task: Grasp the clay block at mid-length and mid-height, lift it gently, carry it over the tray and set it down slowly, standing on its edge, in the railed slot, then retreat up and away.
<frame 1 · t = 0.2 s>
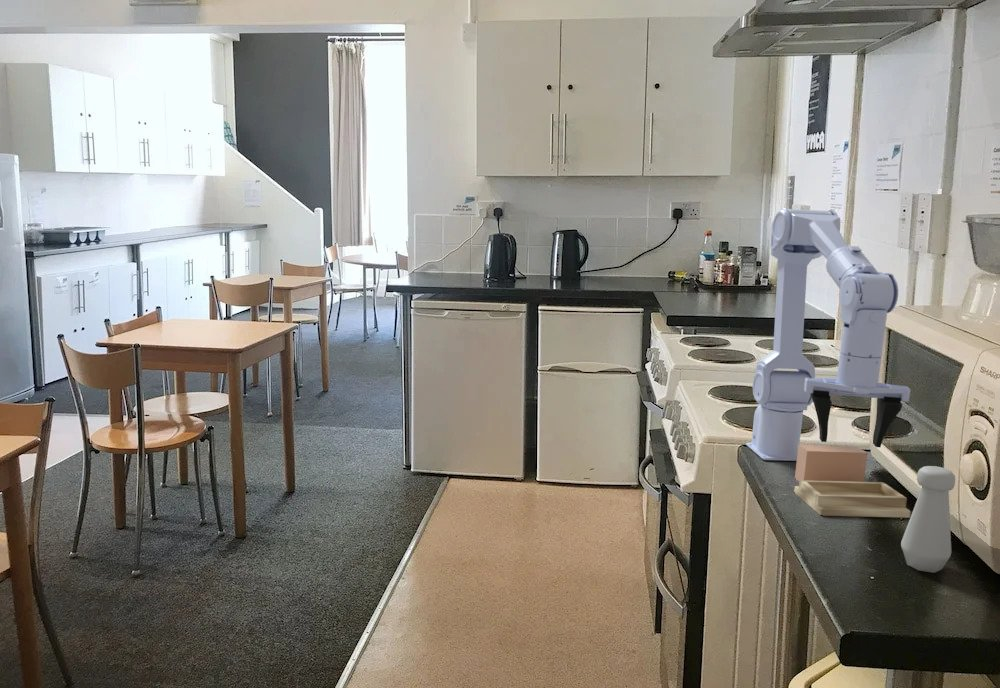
hand: (849, 442, 132), 10 cm above the kitchen counter, tool pointing down, fingers open, 7 cm apart
salt shaker: (923, 567, 113), on the kitchen counter
tray: (850, 504, 135), on the kitchen counter
clay block: (828, 483, 144), on the kitchen counter
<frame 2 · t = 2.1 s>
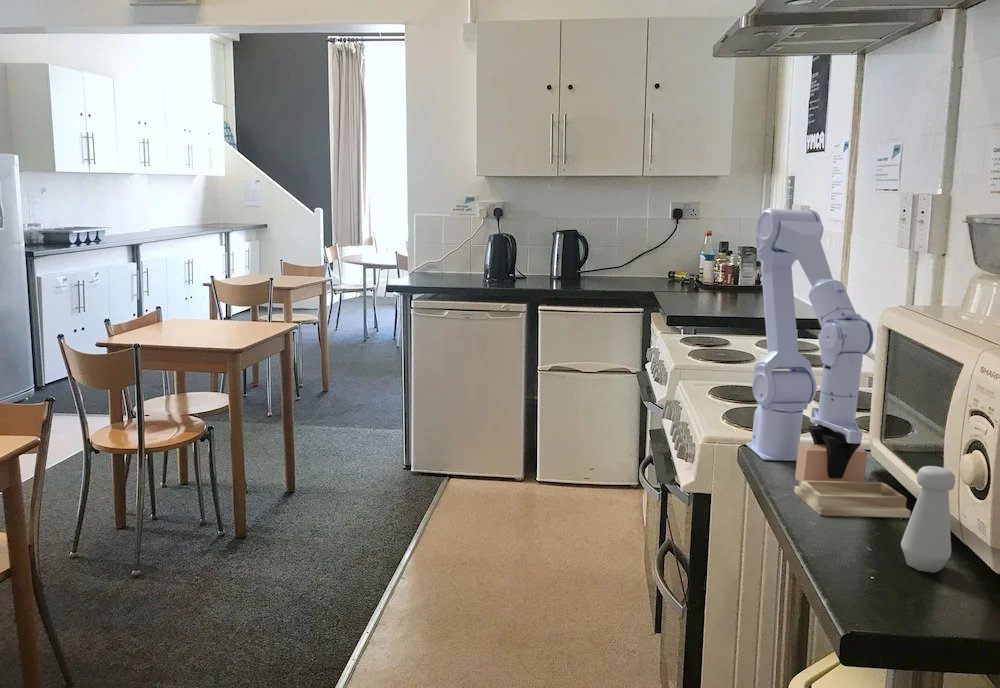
hand: (829, 473, 144), 2 cm above the kitchen counter, tool pointing down, fingers closed on clay block, 3 cm apart
clay block: (828, 483, 144), on the kitchen counter, touching gripper
everything else where it was.
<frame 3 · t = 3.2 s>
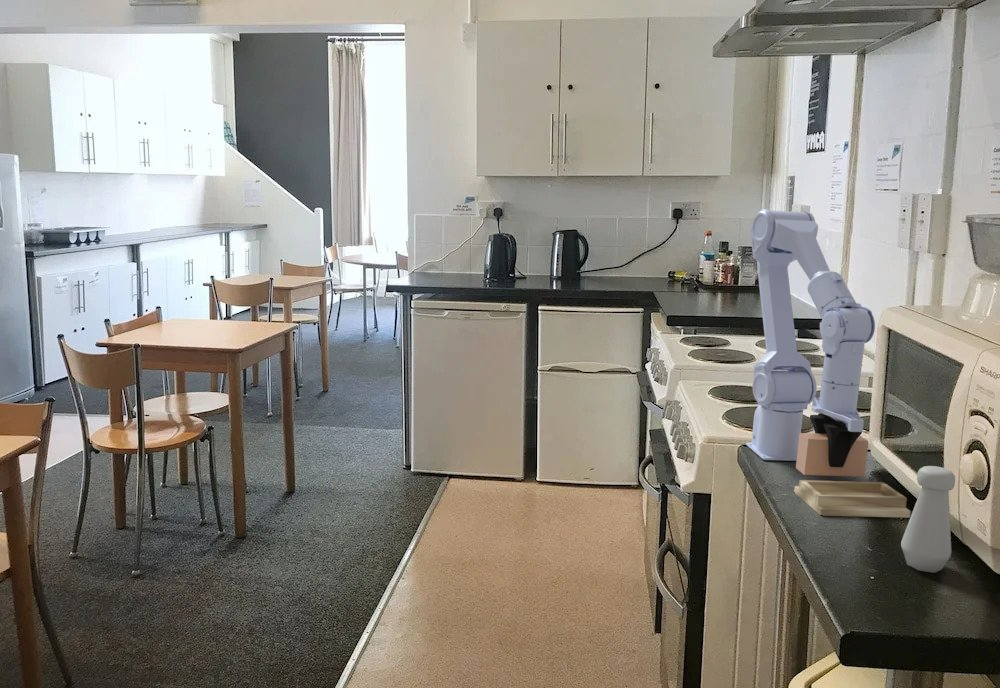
hand: (830, 462, 144), 3 cm above the kitchen counter, tool pointing down, fingers closed on clay block, 3 cm apart
clay block: (829, 472, 144), point 2 cm above the kitchen counter, touching gripper
everything else where it was.
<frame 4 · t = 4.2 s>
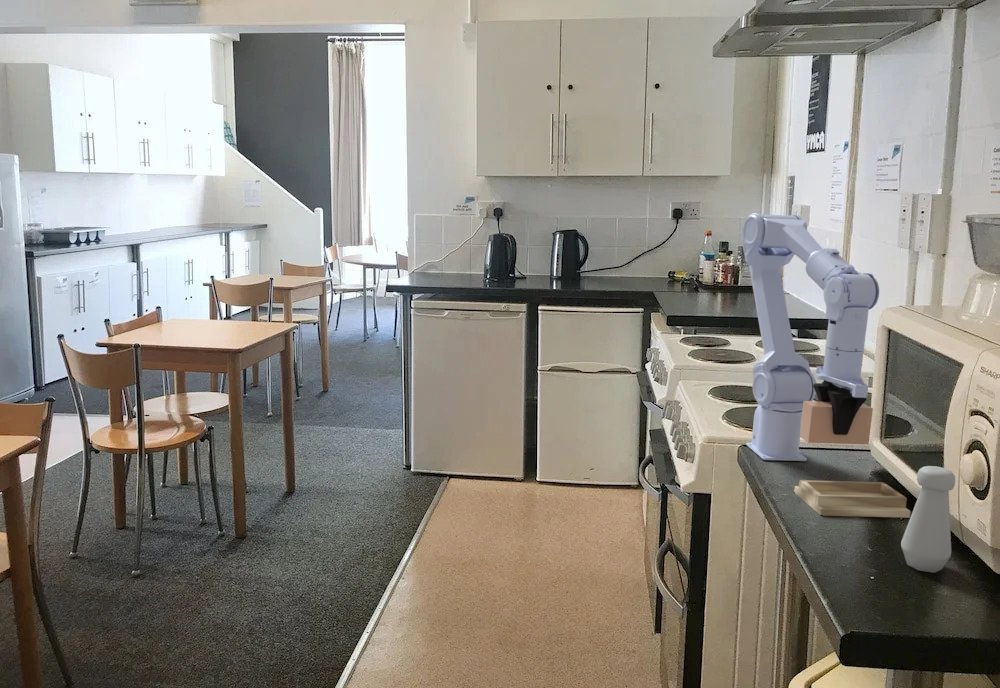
hand: (834, 430, 143), 9 cm above the kitchen counter, tool pointing down, fingers closed on clay block, 3 cm apart
clay block: (833, 440, 143), point 7 cm above the kitchen counter, touching gripper
everything else where it was.
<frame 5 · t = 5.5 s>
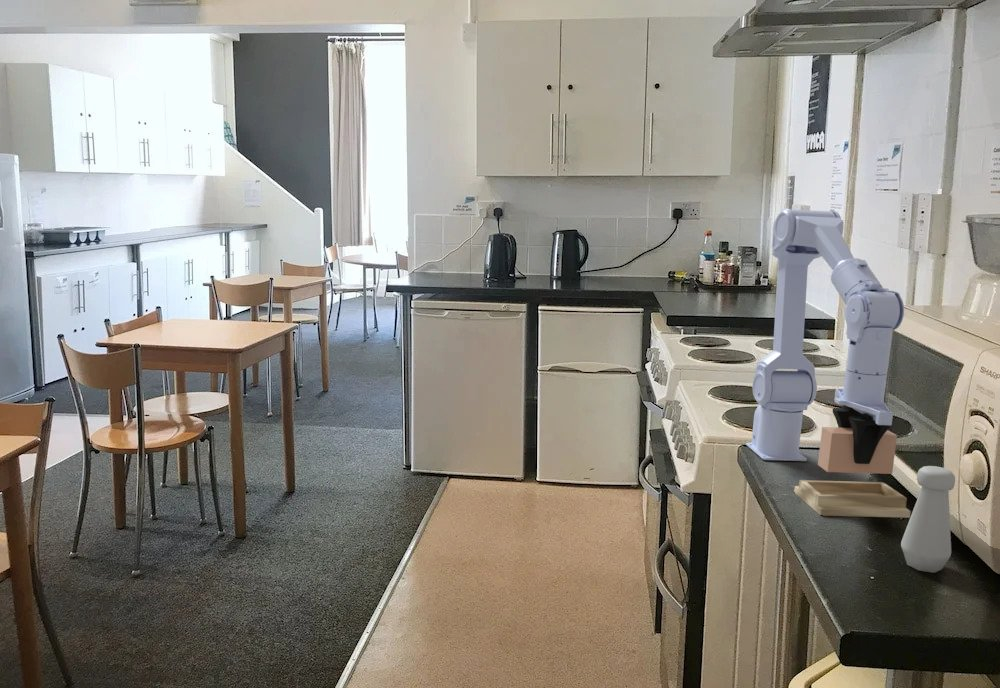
hand: (855, 459, 133), 7 cm above the kitchen counter, tool pointing down, fingers closed on clay block, 3 cm apart
clay block: (854, 469, 134), point 6 cm above the kitchen counter, touching gripper
everything else where it was.
when the fingers open (4 cm above the kitchen counter, at t = 6.6 s): clay block drops 1 cm, resting on tray.
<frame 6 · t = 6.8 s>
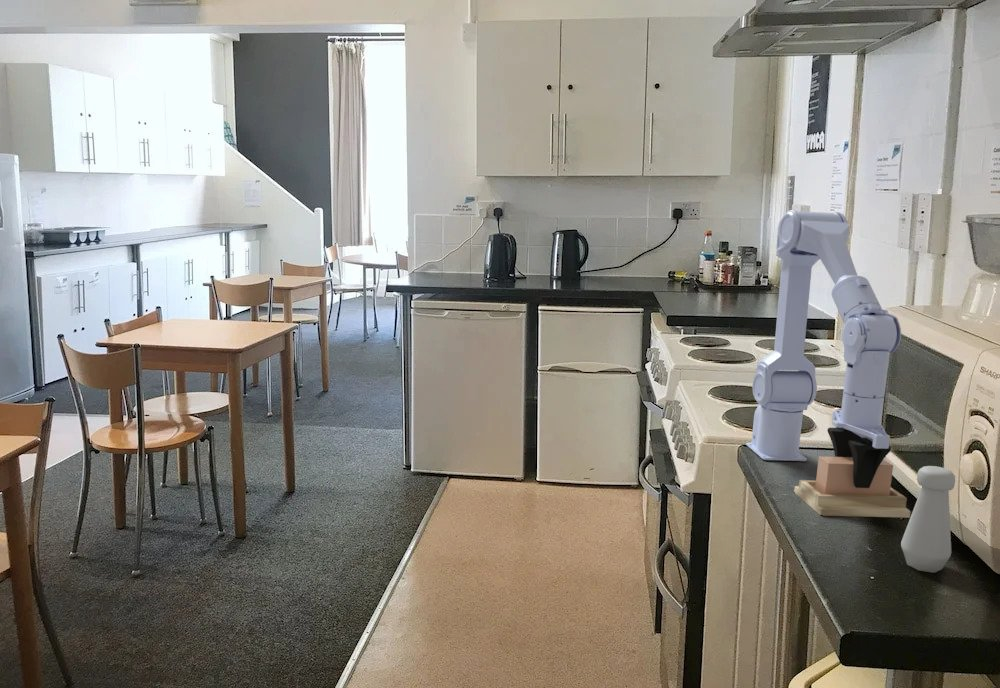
hand: (852, 480, 134), 4 cm above the kitchen counter, tool pointing down, fingers open, 5 cm apart
clay block: (851, 498, 134), point 1 cm above the kitchen counter, touching tray
everything else where it was.
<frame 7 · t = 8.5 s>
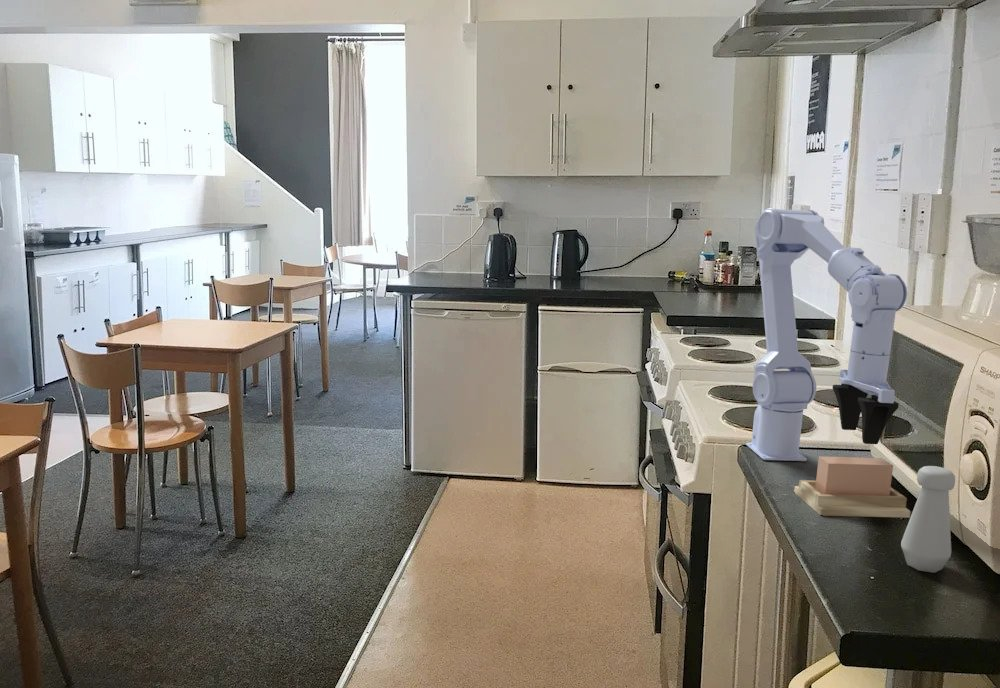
hand: (859, 436, 139), 9 cm above the kitchen counter, tool pointing down, fingers open, 7 cm apart
nothing on the kitchen counter moved.
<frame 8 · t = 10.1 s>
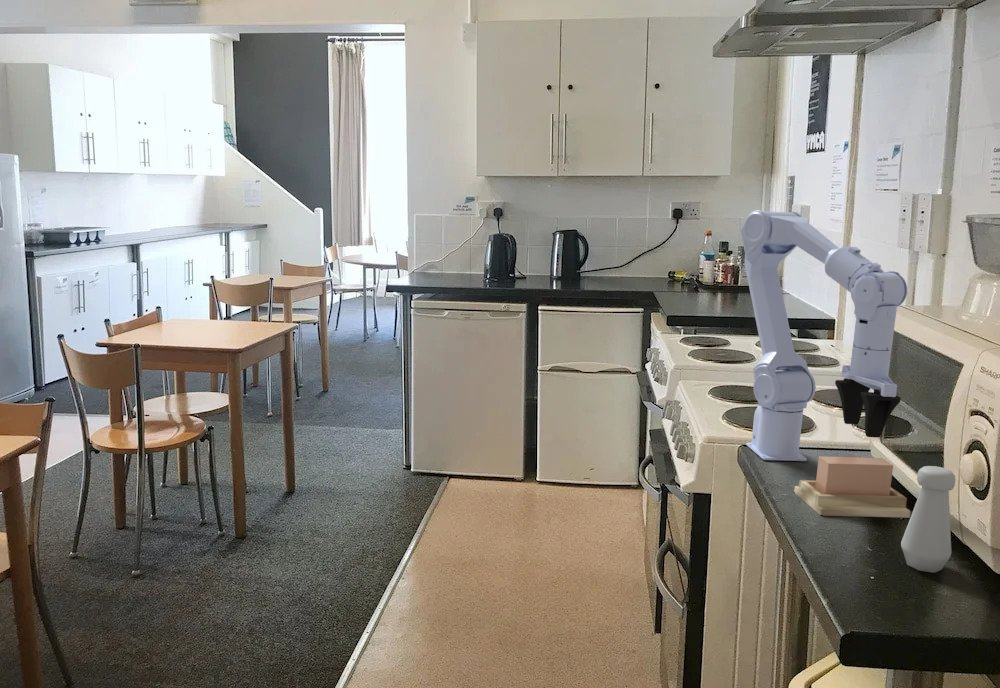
hand: (861, 430, 142), 9 cm above the kitchen counter, tool pointing down, fingers open, 7 cm apart
nothing on the kitchen counter moved.
at the end: clay block 0.1 cm off-centre on the tray, point 1.0 cm above the tray's base; clay block tilted 0°; the gripper is holding nothing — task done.
